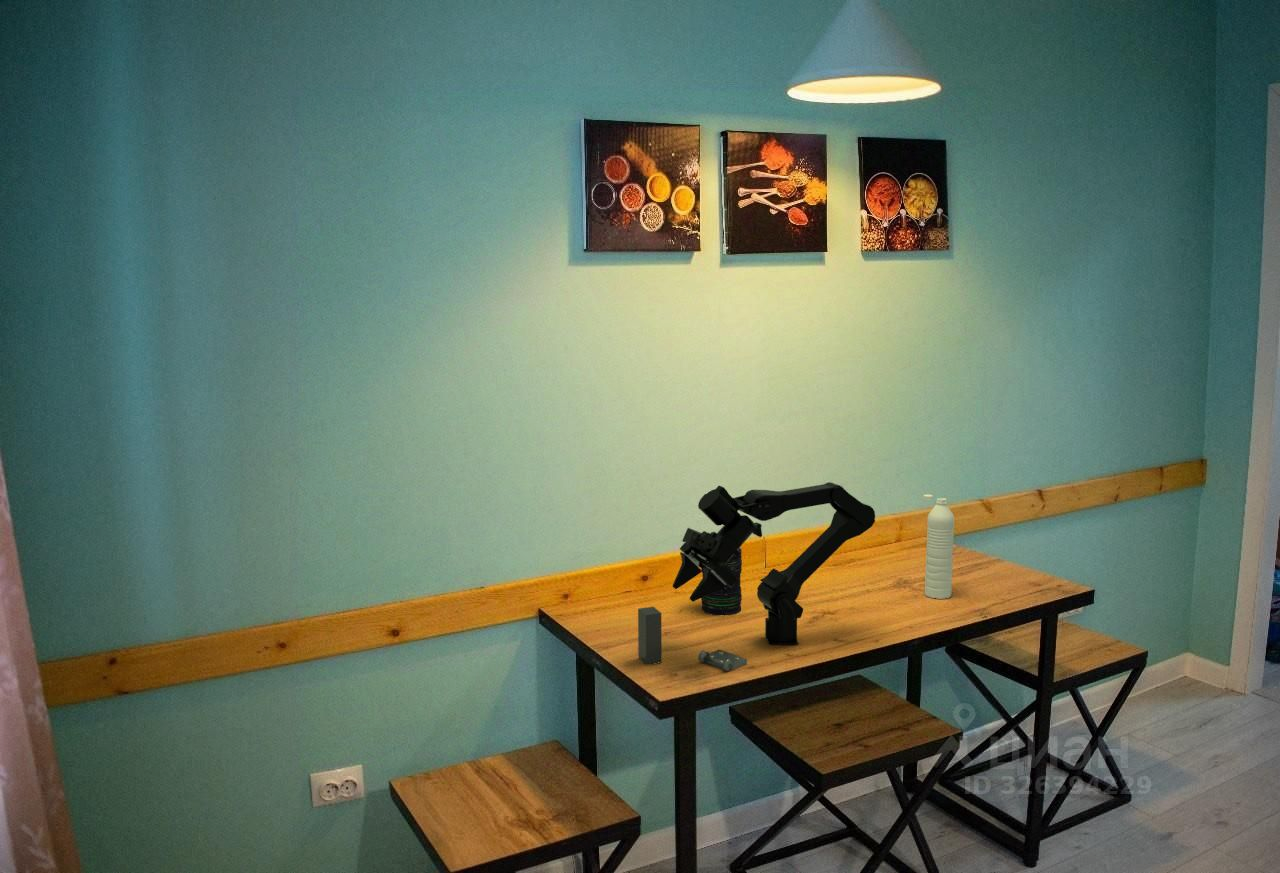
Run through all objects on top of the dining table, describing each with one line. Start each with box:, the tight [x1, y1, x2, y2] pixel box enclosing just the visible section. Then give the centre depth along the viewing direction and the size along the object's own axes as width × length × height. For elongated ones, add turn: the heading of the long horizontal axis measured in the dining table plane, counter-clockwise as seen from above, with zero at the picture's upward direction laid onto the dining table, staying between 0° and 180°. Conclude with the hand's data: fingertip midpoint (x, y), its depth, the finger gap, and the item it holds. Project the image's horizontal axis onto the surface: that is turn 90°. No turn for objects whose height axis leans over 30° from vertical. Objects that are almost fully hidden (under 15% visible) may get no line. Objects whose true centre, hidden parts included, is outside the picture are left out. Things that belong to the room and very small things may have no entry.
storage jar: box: [700, 547, 743, 617], centre depth 260 cm, size 10×10×15 cm
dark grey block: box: [637, 606, 663, 665], centre depth 228 cm, size 4×4×11 cm
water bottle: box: [922, 494, 955, 600], centre depth 270 cm, size 9×6×25 cm
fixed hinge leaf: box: [697, 649, 748, 672], centre depth 226 cm, size 7×8×2 cm
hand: (682, 593), depth 229 cm, fingers open, 9 cm apart
